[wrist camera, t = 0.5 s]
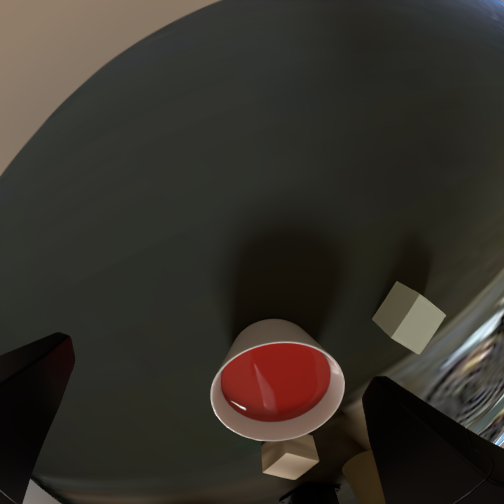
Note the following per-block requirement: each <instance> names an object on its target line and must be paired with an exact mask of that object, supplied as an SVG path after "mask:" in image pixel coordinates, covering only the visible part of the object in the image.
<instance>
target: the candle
mask: <svg viewBox="0 0 504 504" xmlns="http://www.w3.org/2000/svg"><path fill="white" fill-rule="evenodd" d="M344 388H345V382H344V376H343V373H342V370H341V368H340V366H339V365H338V363H337V362H336V361H335V359H334V358H333V357H332V356H331V355H330V354H329V353H328V352H327V351H326V350H324V349H323V348H322V347H321V346H320V345H319V344H318V343H317V342H316V341H315V340H314V339H313V338H312V337H311V336H310V335H309V334H308V333H307V332H305V331H304V330H303V329H302V328H301V327H299V326H298V325H296V324H294V323H292V322H289V321H286V320H282V319H266V320H262V321H258V322H256V323H253V324H251V325H250V326H248V327H247V328H245V329H244V330H243V331H242V332H241V333H240V334H239V335H238V336H237V338H236V339H235V341H234V342H233V344H232V346H231V348H230V349H229V351H228V353H227V355H226V357H225V359H224V361H223V363H222V364H221V366H220V368H219V370H218V372H217V374H216V376H215V378H214V380H213V383H212V387H211V403H212V407H213V410H214V412H215V414H216V415H217V417H218V418H219V420H220V421H221V422H222V423H223V424H224V425H225V426H226V427H228V428H229V429H230V430H232V431H234V432H235V433H237V434H239V435H242V436H244V437H247V438H251V439H255V440H261V441H283V440H289V439H293V438H297V437H300V436H303V435H305V434H307V433H310V432H311V431H313V430H315V429H317V428H318V427H320V426H321V425H323V424H324V423H325V422H326V421H327V420H328V419H329V418H330V417H331V416H332V415H333V414H334V413H335V411H336V410H337V408H338V407H339V405H340V403H341V401H342V398H343V394H344Z"/></svg>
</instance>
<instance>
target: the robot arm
mask: <svg viewBox="0 0 504 504" xmlns="http://www.w3.org/2000/svg"><path fill="white" fill-rule="evenodd" d="M74 364H75V355H74V350H73V345H72V340H71V338H70V336H69V335H66V334H63V333H60V332H57V333H54V334H52V335H49V336H47V337H44V338H42V339H39V340H37V341H34V342H32V343H30V344H27V345H25V346H22V347H20V348H17V349H15V350H12V351H10V352H8V353H5V354H3V355H0V504H22V503H23V500H24V496H25V493H26V490H27V487H28V484H29V480H30V478H31V475H32V472H33V469H34V466H35V463H36V461H37V458H38V455H39V453H40V450H41V448H42V445H43V443H44V440H45V438H46V435H47V433H48V431H49V428H50V426H51V424H52V421H53V419H54V417H55V415H56V413H57V410H58V408H59V406H60V403H61V401H62V398H63V395H64V392H65V389H66V386H67V383H68V380H69V378H70V375H71V372H72V370H73V367H74ZM362 404H363V409H364V414H365V420H366V425H367V431H368V437H369V441H370V445H371V449H372V453H373V456H374V460H375V464H376V467H377V471H378V475H379V479H380V483H381V487H382V491H383V495H384V499H385V503H386V504H504V448H502V447H499V446H497V445H495V444H493V443H491V442H489V441H488V440H486V439H484V438H482V437H480V436H479V435H477V434H475V433H474V432H472V431H470V430H469V429H466V428H465V427H464V426H462V425H461V424H459V423H457V422H456V421H454V420H453V419H451V418H449V417H448V416H446V415H445V414H443V413H442V412H440V411H438V410H437V409H435V408H434V407H432V406H431V405H429V404H428V403H426V402H425V401H423V400H421V399H420V398H418V397H417V396H415V395H414V394H412V393H411V392H409V391H408V390H406V389H405V388H403V387H402V386H400V385H399V384H397V383H396V382H394V381H393V380H391V379H390V378H388V377H386V376H376V377H374V378H373V379H372V380H371V382H370V383H369V385H368V387H367V389H366V390H365V392H364V394H363V397H362ZM340 490H341V489H340V487H336V486H328V485H322V484H315V483H310V482H308V483H305V484H303V485H302V486H300V487H299V488H297V489H296V490H294V491H293V492H291V493H290V494H288V495H287V496H285V497H284V498H282V499H281V500H279V503H280V504H339V502H338V498H337V495H336V493H337V492H339V491H340Z"/></svg>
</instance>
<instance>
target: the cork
mask: <svg viewBox="0 0 504 504" xmlns="http://www.w3.org/2000/svg"><path fill="white" fill-rule="evenodd" d="M342 472H343V474H344V476H345V478H346V479H347V481H348V483H349V485H350V487H351V488H352V490H353V492H354V494H355V495H356V497H357V499H358V501H359V503H360V504H386V503H385V499H384V495H383V491H382V487H381V483H380V479H379V475H378V471H377V467H376V464H375V460H374V456H373V453H372V450H368V451H365V452H362V453H360V454H358V455H356V456H354V457H352V458H351V459H349V460H348V461H347V462H346V463H345V464H344V466H343V467H342Z"/></svg>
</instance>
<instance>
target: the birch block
mask: <svg viewBox="0 0 504 504" xmlns="http://www.w3.org/2000/svg"><path fill="white" fill-rule="evenodd" d="M261 451H262V467H263V473H267V474H271V475H275V476H279V477H283V478H288V479H292V480H296V479H297V478H298V477H300V476H301V475H302V474H304V473H305V472H306V471H308V470H309V469H310V468H311V467H313V466H314V465H315V464H316V463H318V462H319V458H318V454H317V450H316V447H315V443H314V439H313V436H312V435H308V434H305V435H303V436H300V437H297V438H293V439H289V440H283V441H266V442H265V443H264V444H263V445H262V446H261Z"/></svg>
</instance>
